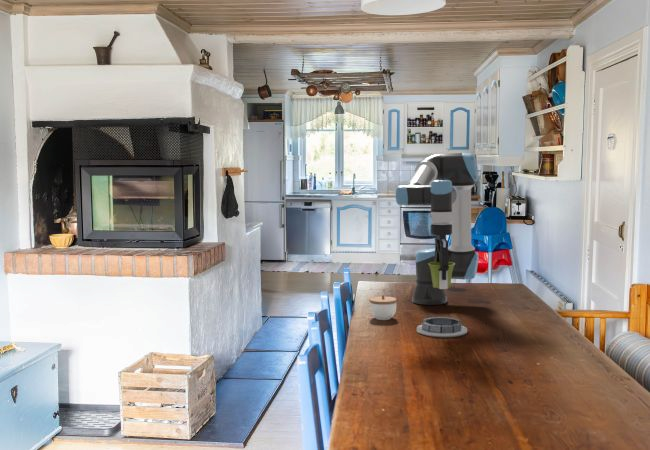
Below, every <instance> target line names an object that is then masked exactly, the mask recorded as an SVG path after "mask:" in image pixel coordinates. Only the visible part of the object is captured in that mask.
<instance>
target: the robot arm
mask: <svg viewBox="0 0 650 450" xmlns="http://www.w3.org/2000/svg"><path fill="white" fill-rule="evenodd" d="M476 181H479V169H478V163H477V157H476V155H475V154H473V153H470V152H467V153H466V152H451V153H448V152H447V153H434V154H432V155H429V156H427V157H425V158H423V159H422V160H420V161H419V162H418V164H417V165H416V166H415V169H414V174H413V175H412V176H411V178H410V179H409V181H408V182H407V184H406V185H405V184H403V185H397V187H396V190H395V201H396V204H397V205H398V206H405V207H407V206H430V214H428V217H429V218H430V223H431V224H430V235H432V236H436V237H435V238H434V248H426V249H422V250H419V251H417V252H416V254H415V256H416V257H415V287H414V291H413V294H412V296H411V302H412V303H413V304H418V305H424V306H425V305H426V306H434V305H444V304H447V302H448V296H447V294H446V291H445V290H448V289H449V288H448V269H449V265H448V262H452V263H455V265H454V268H453V271H452V277H451V280H463V281H465V280H473V279H475V277H476V276H477V271H478V265H479V259H480V258H479V256H480V255H479V252H476V247H474V246H473V244H472V188H473V187H475V182H476ZM447 236H450V245H449V241H448V240H447ZM430 262H440V269H438V271H439V288H437V287H436V288H434V287H433V283H432V276H431V269H430V266H429V265H428V263H430Z"/></svg>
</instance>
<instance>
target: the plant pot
mask: <svg viewBox="0 0 650 450" xmlns="http://www.w3.org/2000/svg"><path fill="white" fill-rule="evenodd" d="M428 265H429V266H430V269H431V276H432V283H433V287H434V288H436V287H437V288H439V271H438V269H440V262H430V263H428ZM448 265H449V269H448V289H449V288H451V284H452V279H451V277H452V271H453V268H454V265H455V263H452V262H448Z"/></svg>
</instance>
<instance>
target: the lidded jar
mask: <svg viewBox="0 0 650 450" xmlns="http://www.w3.org/2000/svg"><path fill="white" fill-rule="evenodd" d="M397 301H398V300H397V298H396V297H394V296H393V297H392V296H385V294H381V296H373V297H370V298H369V300H368V302H369V308H370V313H371V314H372V316H373V317H374V318H375V319H376V320H377V321H378V320H380V321H388V320H391V319H392V317H393V316H394V315H395V314H396V311H397Z"/></svg>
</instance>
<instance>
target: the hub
mask: <svg viewBox="0 0 650 450" xmlns="http://www.w3.org/2000/svg"><path fill="white" fill-rule="evenodd" d="M416 332H417V333H418V334H420V335H423V336H425V337H433V338H456V337H462V336H464V335H467V333H468V327H466V326H464V325H462V320H461V319H458V318H454V317H447V316H433V317H427V318H423V319H422V322H421V324H419V325H417V327H416Z"/></svg>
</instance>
